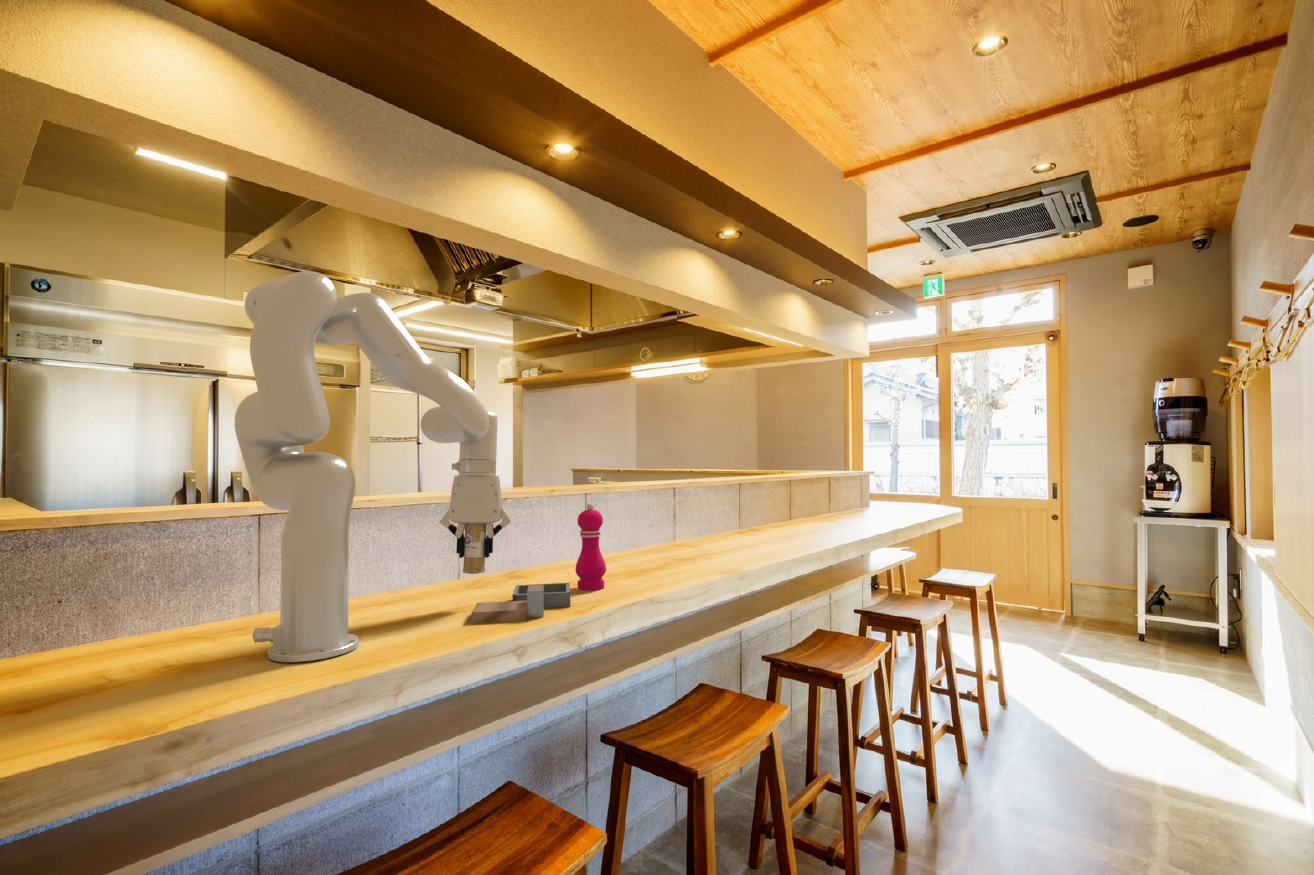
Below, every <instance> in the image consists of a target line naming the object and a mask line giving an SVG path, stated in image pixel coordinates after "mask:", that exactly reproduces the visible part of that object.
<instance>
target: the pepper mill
mask: <svg viewBox="0 0 1314 875" xmlns="http://www.w3.org/2000/svg"><path fill="white" fill-rule="evenodd" d="M594 508H595V505H594V504H593V503H592V502H589V503H587V504H586V509H584V510H583V511H581V512H580V513H579V514H578V517H577V525H578V527H579V528H580V530H579V533H580V535H579V537H580V538H581V551H580V554H579V556H578V559H577V561H576V564H575V570H574V571H575V574H576V575H577V576H578V578H579V580H577V589H578V590H580V591H598V590H599V591H600V590H603V589H604V588H605V580H604V579H603V577H604V576H605V574H606V572H607V566H606V565H607V564H606V561H605V559H604V556H603V554H602V552H601V549H600V537H601V536H602V534H601V533H602V530H601V529H600V528H601V527H602V525H603V523H604V519H603V518H604V517H603V516H602V513H601V512H600V511H598V510H597V509H594Z"/></svg>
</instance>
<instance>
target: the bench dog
mask: <svg viewBox="0 0 1314 875" xmlns="http://www.w3.org/2000/svg"><path fill="white" fill-rule="evenodd" d="M528 585H529V586H528V590H527V619H533V618H535V619H536V618H544V614H545V608H544V585H531V584H528Z"/></svg>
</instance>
